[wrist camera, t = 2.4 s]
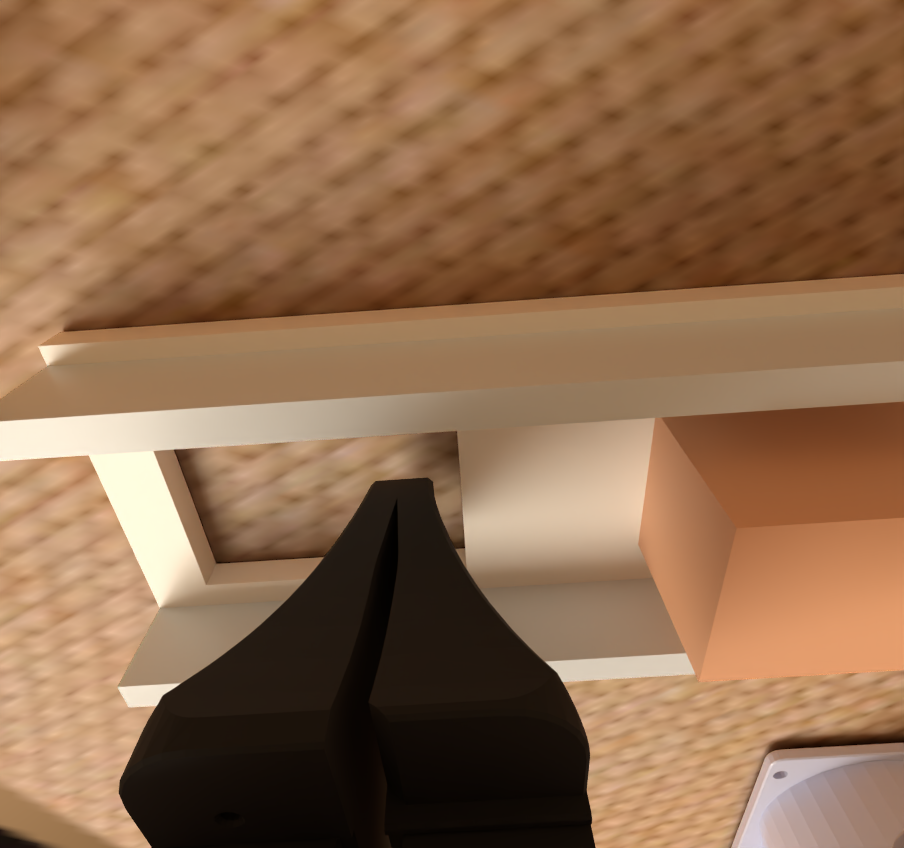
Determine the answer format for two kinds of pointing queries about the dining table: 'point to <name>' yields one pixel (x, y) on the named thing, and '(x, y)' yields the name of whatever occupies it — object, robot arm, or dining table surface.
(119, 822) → the dining table surface
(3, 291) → the dining table surface
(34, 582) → the dining table surface
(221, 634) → the trap channel
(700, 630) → the terracotta block
